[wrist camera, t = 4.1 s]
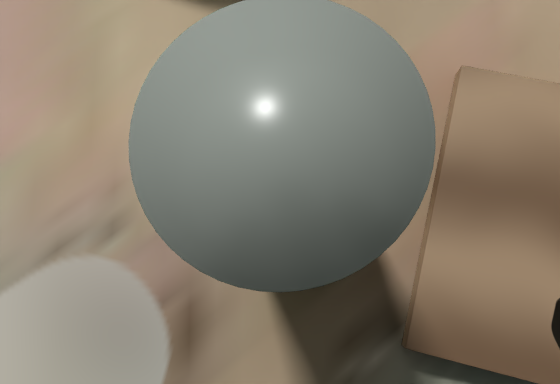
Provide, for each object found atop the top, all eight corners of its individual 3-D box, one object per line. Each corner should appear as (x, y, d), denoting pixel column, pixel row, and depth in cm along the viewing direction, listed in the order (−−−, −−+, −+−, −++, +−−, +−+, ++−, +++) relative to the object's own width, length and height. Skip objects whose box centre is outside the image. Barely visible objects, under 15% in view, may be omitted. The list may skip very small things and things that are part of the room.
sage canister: (349, 293, 20) (400, 329, 7) (236, 264, 20) (90, 248, 7) (374, 180, 20) (461, 22, 8) (264, 155, 21) (175, -28, 8)
